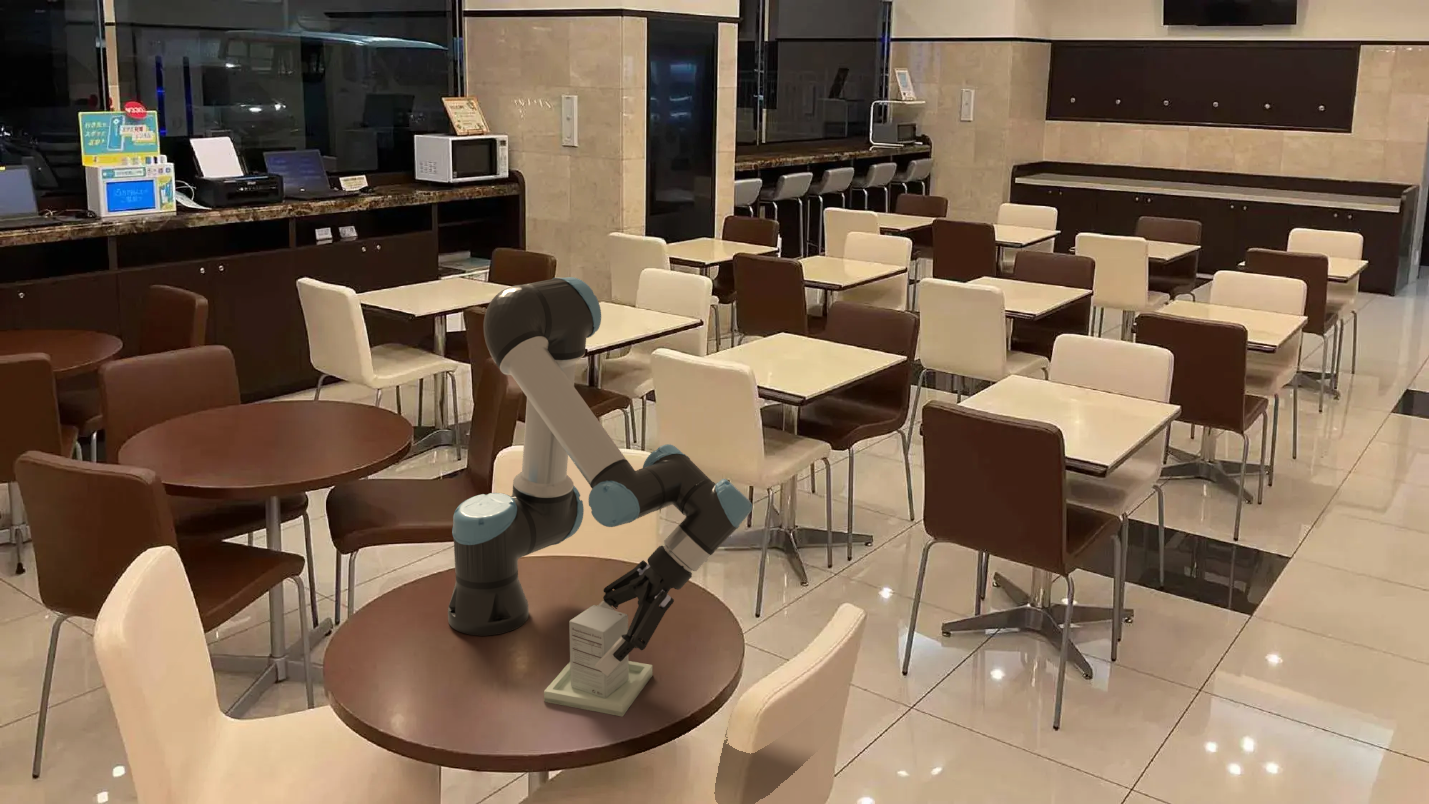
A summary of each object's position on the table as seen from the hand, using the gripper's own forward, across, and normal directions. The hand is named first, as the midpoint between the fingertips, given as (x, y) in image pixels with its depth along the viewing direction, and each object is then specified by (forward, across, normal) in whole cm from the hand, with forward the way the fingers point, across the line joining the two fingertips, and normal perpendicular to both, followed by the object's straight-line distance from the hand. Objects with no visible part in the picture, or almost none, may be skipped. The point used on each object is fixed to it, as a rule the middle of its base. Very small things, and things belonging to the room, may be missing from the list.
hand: (591, 651), depth 198 cm
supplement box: (+4, 0, -6) cm, 7 cm away
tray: (+4, 0, -6) cm, 7 cm away
